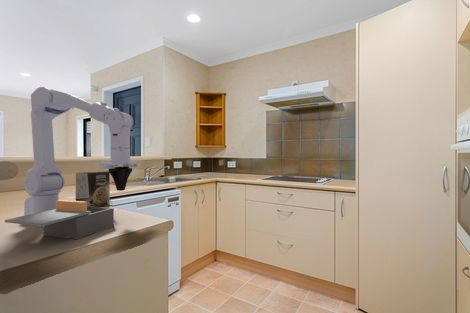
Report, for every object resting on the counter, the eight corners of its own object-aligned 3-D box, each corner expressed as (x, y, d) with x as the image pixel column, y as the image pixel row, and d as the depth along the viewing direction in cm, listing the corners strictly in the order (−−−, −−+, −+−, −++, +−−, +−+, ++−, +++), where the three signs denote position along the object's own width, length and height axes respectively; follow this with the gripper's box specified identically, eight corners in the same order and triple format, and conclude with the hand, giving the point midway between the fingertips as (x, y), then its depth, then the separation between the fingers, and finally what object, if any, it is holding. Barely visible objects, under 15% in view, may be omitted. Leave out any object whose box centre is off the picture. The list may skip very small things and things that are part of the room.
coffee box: (90, 220, 77) (90, 172, 77) (74, 219, 79) (74, 172, 79) (110, 214, 86) (110, 170, 86) (95, 213, 88) (95, 170, 88)
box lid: (4, 222, 55) (4, 208, 55) (58, 210, 67) (58, 199, 67) (41, 226, 51) (41, 212, 51) (91, 213, 63) (90, 201, 63)
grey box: (43, 235, 63) (43, 215, 63) (84, 223, 75) (83, 206, 75) (76, 239, 60) (76, 218, 60) (113, 226, 71) (113, 208, 71)
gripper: (112, 147, 67) (112, 194, 67) (145, 149, 81) (145, 187, 81) (93, 148, 69) (94, 193, 69) (129, 149, 83) (129, 187, 83)
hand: (120, 190), depth 75 cm, fingers closed
